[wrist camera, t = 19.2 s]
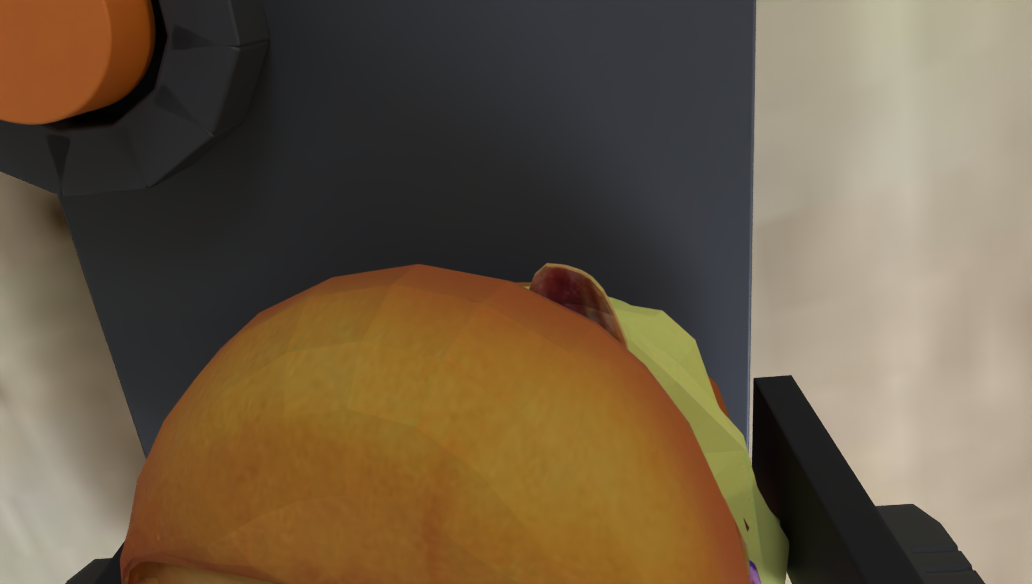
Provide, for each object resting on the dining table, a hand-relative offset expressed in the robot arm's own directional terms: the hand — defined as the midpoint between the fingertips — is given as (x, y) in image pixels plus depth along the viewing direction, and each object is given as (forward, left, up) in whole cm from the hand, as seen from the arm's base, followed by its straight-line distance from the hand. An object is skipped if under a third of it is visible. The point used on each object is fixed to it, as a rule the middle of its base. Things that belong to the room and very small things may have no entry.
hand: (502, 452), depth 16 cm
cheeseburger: (0, 0, -1) cm, 1 cm away
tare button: (-10, -7, 0) cm, 12 cm away
